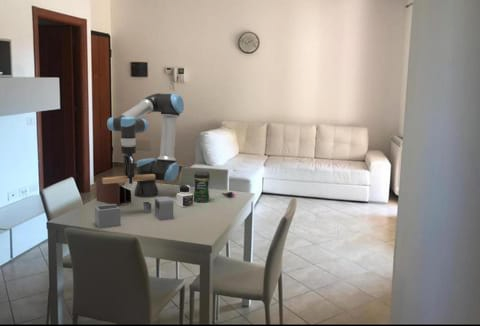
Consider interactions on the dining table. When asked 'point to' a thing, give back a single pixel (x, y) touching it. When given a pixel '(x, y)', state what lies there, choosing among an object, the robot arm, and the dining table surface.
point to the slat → (125, 179)
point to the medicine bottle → (184, 197)
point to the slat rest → (147, 207)
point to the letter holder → (113, 193)
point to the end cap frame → (111, 213)
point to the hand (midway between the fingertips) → (129, 188)
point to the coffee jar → (201, 186)
